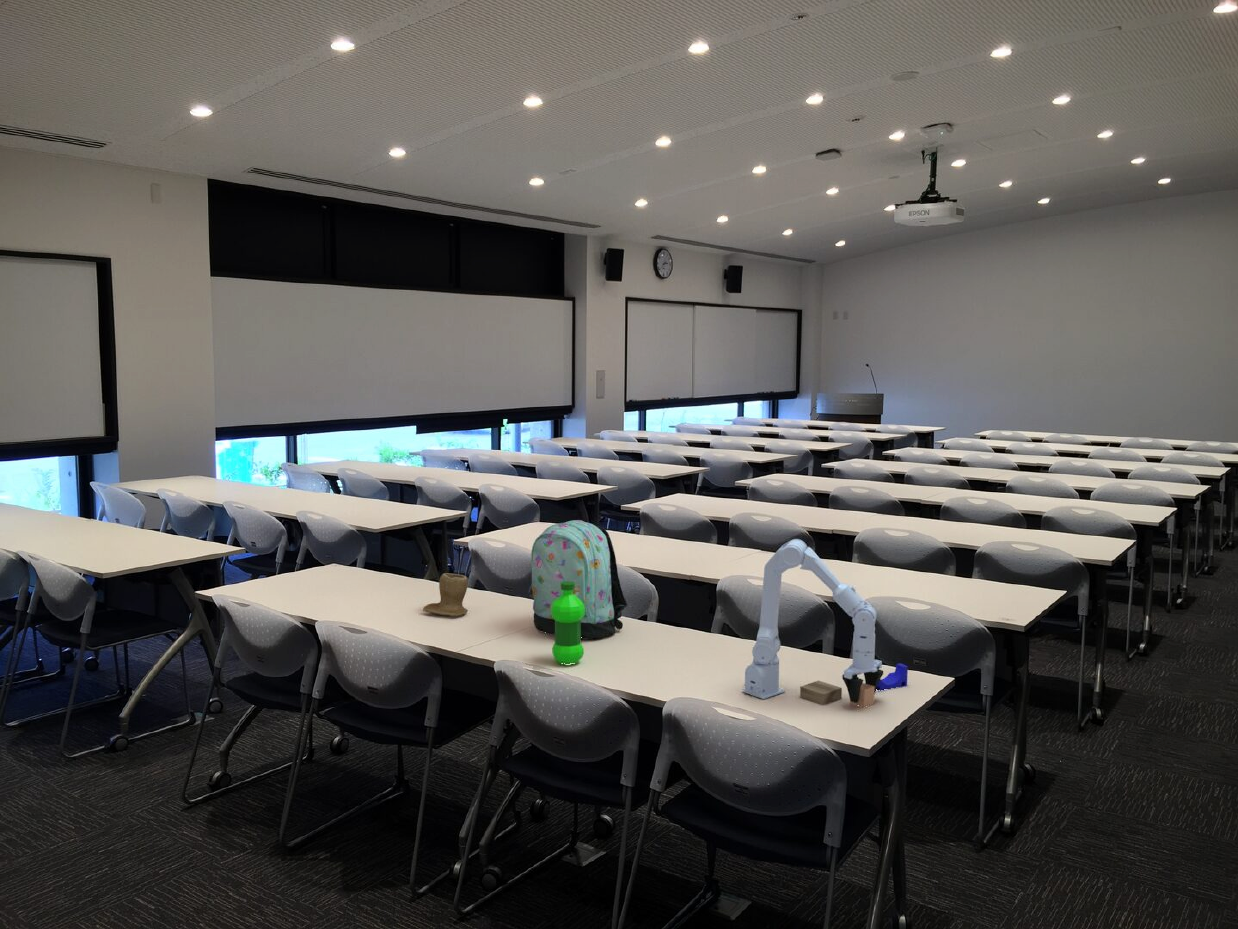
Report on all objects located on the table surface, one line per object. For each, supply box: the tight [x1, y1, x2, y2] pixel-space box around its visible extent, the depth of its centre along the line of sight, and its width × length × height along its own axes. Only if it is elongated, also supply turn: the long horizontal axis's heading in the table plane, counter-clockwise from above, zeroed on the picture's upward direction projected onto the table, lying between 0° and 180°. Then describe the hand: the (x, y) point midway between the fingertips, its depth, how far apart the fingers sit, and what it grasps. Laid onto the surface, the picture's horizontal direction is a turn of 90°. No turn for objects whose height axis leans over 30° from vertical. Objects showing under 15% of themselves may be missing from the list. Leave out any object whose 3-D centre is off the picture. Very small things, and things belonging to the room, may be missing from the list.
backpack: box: [527, 519, 628, 640], centre depth 321 cm, size 32×24×39 cm
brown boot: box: [422, 572, 469, 617], centre depth 346 cm, size 15×12×15 cm
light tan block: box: [849, 682, 875, 708], centre depth 257 cm, size 4×4×5 cm
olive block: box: [799, 680, 843, 706], centre depth 262 cm, size 8×8×3 cm
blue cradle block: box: [876, 663, 909, 692], centre depth 271 cm, size 12×4×6 cm, turn 115°
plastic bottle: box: [551, 582, 585, 664], centre depth 290 cm, size 10×10×25 cm
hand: (862, 698), depth 257 cm, fingers open, 7 cm apart
